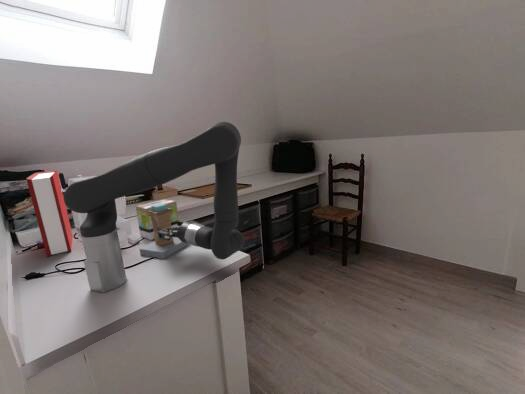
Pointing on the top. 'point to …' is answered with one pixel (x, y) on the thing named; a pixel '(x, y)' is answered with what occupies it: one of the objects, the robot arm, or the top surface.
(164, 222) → the wooden pedestal column
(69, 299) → the top surface
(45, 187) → the book
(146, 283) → the top surface
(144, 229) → the tea box
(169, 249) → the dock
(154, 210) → the teal block
